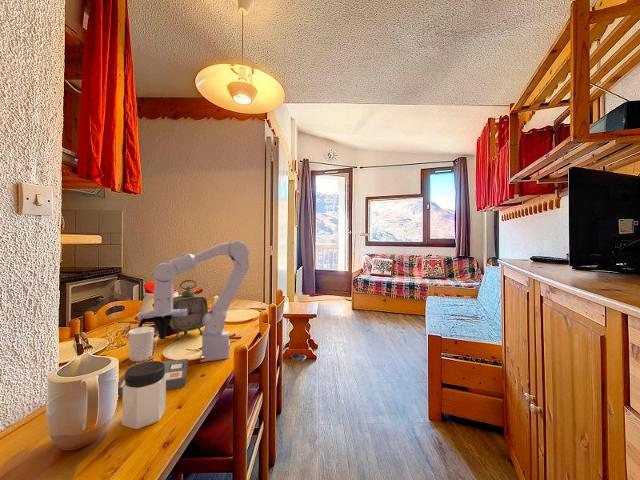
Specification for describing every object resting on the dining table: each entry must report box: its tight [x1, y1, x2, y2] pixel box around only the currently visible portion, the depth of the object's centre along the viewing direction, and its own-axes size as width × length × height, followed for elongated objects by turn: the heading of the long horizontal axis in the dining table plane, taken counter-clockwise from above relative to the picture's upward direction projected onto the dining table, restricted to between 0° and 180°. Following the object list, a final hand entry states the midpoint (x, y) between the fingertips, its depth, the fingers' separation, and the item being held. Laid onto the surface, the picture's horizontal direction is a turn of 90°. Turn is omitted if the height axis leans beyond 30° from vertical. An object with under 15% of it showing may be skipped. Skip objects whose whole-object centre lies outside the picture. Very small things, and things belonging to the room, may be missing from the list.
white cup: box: [127, 326, 155, 362], centre depth 99 cm, size 8×8×10 cm
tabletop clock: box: [168, 279, 209, 341], centre depth 122 cm, size 14×9×25 cm, turn 134°
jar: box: [121, 360, 167, 430], centre depth 66 cm, size 9×8×12 cm
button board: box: [118, 358, 189, 398], centre depth 83 cm, size 17×14×3 cm
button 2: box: [170, 363, 183, 370], centre depth 87 cm, size 3×3×2 cm
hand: (162, 338), depth 93 cm, fingers closed
